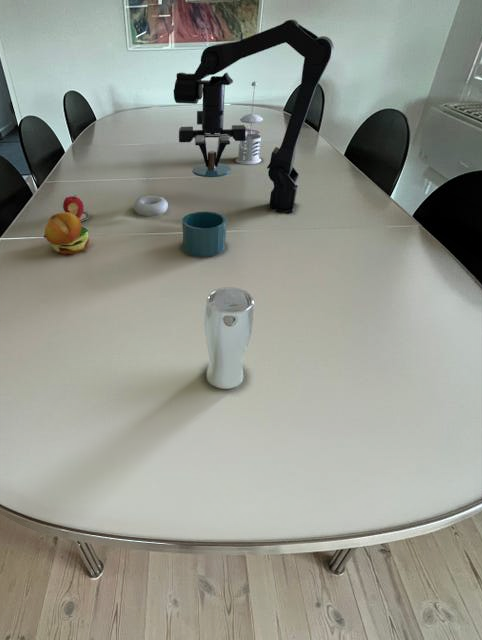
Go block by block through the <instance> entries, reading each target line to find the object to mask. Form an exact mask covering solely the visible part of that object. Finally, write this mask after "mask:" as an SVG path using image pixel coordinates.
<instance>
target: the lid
mask: <svg viewBox="0 0 482 640" xmlns="http://www.w3.org/2000/svg"><path fill="white" fill-rule="evenodd" d="M216 155H217V151H215V150H210V151H209V150H208V151H207V159H208V167H206V164H205V163H200V164H197V165H195V166H193V167H192V168H191V171H192V174H193V175H195V176H197V177H202V178H220V177H221V178H222V177H224V176H228V175H230V174H231V172H232V167H231V166H229V165H228V164H223V163H218V166H217V167H216Z"/></svg>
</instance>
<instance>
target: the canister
mask: <svg viewBox="0 0 482 640" xmlns="http://www.w3.org/2000/svg"><path fill="white" fill-rule="evenodd" d="M181 222H182V224H181V225H182V250H183V251H184V253H186V254H188V255H189V256H193V257H196V258H209V257H210V258H211V257H214V256H218V255H220V254H222V253H223V251H225V248H226V235H227V234H226V233H227V219H226V217H225V216H224V215H223V214H221V213H217V212H213V211H195V212H191V213H188V214H187V215H185V216H184V217H183V218H182V219H181Z"/></svg>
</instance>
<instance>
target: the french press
mask: <svg viewBox="0 0 482 640" xmlns="http://www.w3.org/2000/svg"><path fill="white" fill-rule="evenodd" d="M257 86H258V82H256V81H252V82H251V87H253V89H255V87H257ZM252 94H253V96H252V101H254V98H255V92H253V93H252ZM251 108H252V109H251V113H248V114H246V115H243V116H242V117H241V118H240V122H241V123H245V124H250V125H252V124H257V123H261V122H263V120H264V118H263V117H262V116H260V115H259V114H256V113H255V114H254V113H253V111H254V104H252V106H251ZM250 125H249V126H247V127H246V129H247V140H246V141H238V154H237V155H238V156H237V157H236V158H235V162H236V163H238V164H242V165H256V164H259V163H261V162H262V159H261V158H260V150H261V140H262V136H261V135H260V134H261V130H259V129H252V128H250Z"/></svg>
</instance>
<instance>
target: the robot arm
mask: <svg viewBox="0 0 482 640" xmlns="http://www.w3.org/2000/svg"><path fill="white" fill-rule="evenodd" d="M283 44H287V45H288V46H289V47H291V48H292V49H293V50H294V51H295V52H296V53H298V55H300V56H302V57H303V58H304V60H303V63H302V64H303V65H302V71H301V79H300V80H301V81H300V86H299V89H298V92H297V95H296V98H295V101H294V105H293V108H292V111H291V113H290V116H289V117H290V118H289V120H288V123H287V127H286V129H285V133H284V135H283V139H282V143H281V144H280V146H279V147H277V146H275V147H274V148H273V150H272V152H271V155H270V160H269V164H268V165H267V167H266V169H268V172H267V174H268V178H269V179H270V181H272V183H273V189H272V190H271V192H270V198H269V206H270V207H269V209H270V210H274V211H275V212H282V213H293V212H294V209H295V207H296V204H297V203H296V199H297V192H298V187H299V185H298V184H297V183H298V180H299V178H300V174H299V172H298V171H297V169H296V168H295V167H294V163H295V158H296V151H297V149H296V148H297V144H298V142H299V138H300V136H301V133H302V130H303V127H304V124H305V121H306V118H307V115H308V112H309V109H310V107H311V106H310V105H311V103H312V100H313V98H314V95H315V92H316V89H317V86H318V84H319V83H320V80H321V78H322V76H323V74H324V73H325V71H326V69H327V68H328V65H329V63H330V62H331V58H332V57H333V54H334V50H335V48H334V47H335V46H334V43H333V41H332V39H331V38H330V37H328V36H323V35H322V36H318V35H316V33H314V32H312V31H311V30H309V29H307V28H305V27H304V26H302V24H300V23H299V22H298V21H297V20H296V19H293V18H292V19H288V20H285V21H284V22H283V23H281V24H278V25H276V26H273V27H271V28H268V29H265V30H263V31H260V32H258V33H255V34H253V35H251V36H250V35H249V36H248V37H245V38H243V39H241V40H235V41H230V42H229V41H228V42H223V43H216V44H213V45H210V46H207V47H206V48H205V49H204V50H202V54H201V55H200V63H199V65H198V67H197V68H196V70H195V72H194V73H186V72H177V73H176V79H175V82H174V88H173V99H174V102H175V103H176V104H188V105H189V104H191V105H196V104H198V103H199V101H200V100H202V110H196V125H201V129H194V126H180V127H179V129H178V142H179V143H191V142H192V141H193V140H194V145H195V146H198V147H199V149H200V151H201V154H202V156H203V160H204V164H206V167H208V151H207V142H206V138H218V140H217V148H216V167H217V166H218V163H219V162H220V160H221V157H222V154H223V152H224V150H225V149H226V147H227V146H228V145H231V140H230V139H231V138H232V139H233V140H234V141H235V142H239V141H245V142H247V141H246V140H247V127H246V125H244V124H233V125H231V128H227V129H226V128H225V129H224V118H225V117H224V114H225V95H226V94H225V91H226V86H230V85H232V84H233V83H234V80H233V79H232V78H231V77H230V75H229V73H228V72H225V73H224V74H223V75H222V76H219V75H216V74H218V73H220V72H223V70H226V69H227V68H229V67H230V66H232V65H234V64H235V63H237V62H238V61H240V60H241V59H244V58H247V57H250V56H252V55H255V54H259V53H260V52H264V51H267V50H268V49H272V48H274V47H277V46H280V45H283ZM209 76H211V77H210V78H209V80H207V79H206V80H205V78H207V77H209ZM219 164H220V163H219Z"/></svg>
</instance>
